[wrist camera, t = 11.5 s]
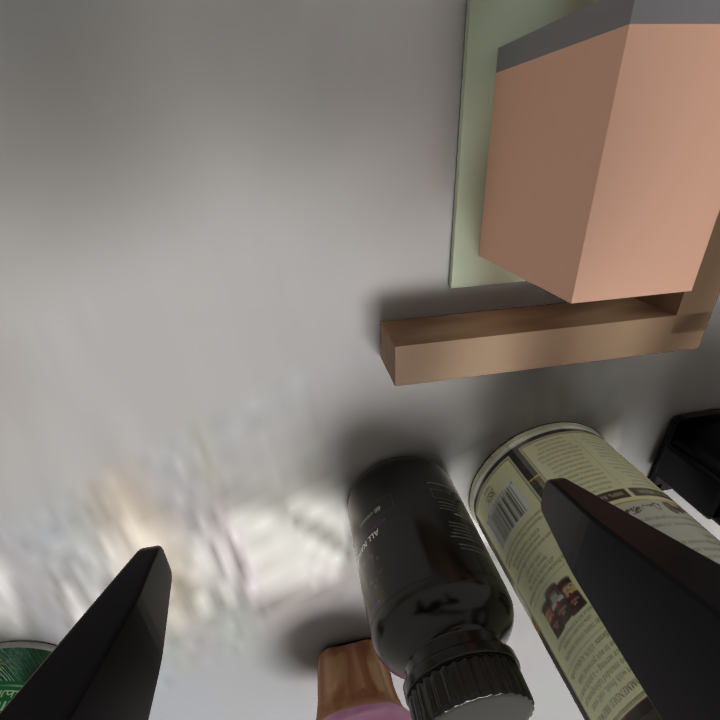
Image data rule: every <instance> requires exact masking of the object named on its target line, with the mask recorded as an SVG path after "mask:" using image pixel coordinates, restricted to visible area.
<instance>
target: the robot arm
mask: <svg viewBox="0 0 720 720" xmlns="http://www.w3.org/2000/svg"><path fill="white" fill-rule="evenodd" d="M650 481H652V482H653V483H654V484H655V485H656V486H657V487H658V488H660V489H661V490H662V491H663V490H668V489H673V490H674V491H675V492H676V493H678V494H679V495H680V496H681V497H682V498H683V499H685V500H686V501H687V502H688V503H689V504H690V505H692V506H693V507H694V508H695V509H696V510H697V511H699V512H700V513H701V514H702V515H703V516H704V517H706V518H707V519H712V520H714V521H715V522H716V523H717V524H718V525H719V526H720V409H717V410H710V411H703V412H697V413H690V414H684V415H679V416H677V417H675V418H674V419H673V421H672V423H671V425H670V428H669V430H668V433H667V436H666V438H665V441H664V444H663V446H662V449H661V451H660V454H659V457H658V459H657V462H656V464H655V467H654V470H653V472H652V475H651V477H650ZM541 510H542V513H543V515H544V517H545V520H546V522H547V524H548V526H549V528H550V530H551V532H552V534H553V536H554V538H555V540H556V542H557V544H558V546H559V548H560V550H561V552H562V554H563V556H564V558H565V560H566V562H567V564H568V566H569V568H570V570H571V572H572V574H573V575H574V577H575V579H576V581H577V582H578V584H579V586H580V587H581V589H582V590H583V592H584V594H585V595H586V597H587V599H588V600H589V602H590V604H591V605H592V607H593V608H594V610H595V612H596V613H597V615H598V617H599V618H600V620H601V621H602V623H603V625H604V626H605V628H606V630H607V631H608V633H609V634H610V636H611V638H612V639H613V641H614V643H615V644H616V646H617V648H618V649H619V651H620V652H621V654H622V656H623V657H624V659H625V661H626V662H627V664H628V665H629V667H630V669H631V670H632V672H633V674H634V675H635V677H636V679H637V680H638V682H639V683H640V685H641V687H642V688H643V690H644V692H645V693H646V695H647V696H648V698H649V700H650V701H651V703H652V705H653V706H654V708H655V709H656V711H657V713H658V714H659V716H660V718H661V719H662V720H720V564H718V563H717V562H715V561H713V560H711V559H709V558H708V557H706V556H704V555H702V554H700V553H699V552H697V551H695V550H693V549H692V548H690V547H688V546H686V545H684V544H683V543H681V542H679V541H677V540H675V539H674V538H672V537H670V536H668V535H666V534H665V533H663V532H661V531H659V530H657V529H656V528H654V527H652V526H650V525H648V524H647V523H645V522H643V521H641V520H640V519H638V518H636V517H634V516H632V515H631V514H629V513H627V512H625V511H623V510H622V509H620V508H618V507H616V506H614V505H613V504H611V503H609V502H607V501H605V500H604V499H602V498H600V497H598V496H596V495H595V494H593V493H591V492H589V491H588V490H586V489H584V488H582V487H580V486H579V485H577V484H575V483H573V482H571V481H570V480H568V479H566V478H555V479H549V480H547V482H546V483H545V487H544V491H543V496H542V500H541ZM171 581H172V573H171V569H170V566H169V563H168V561H167V558H166V556H165V553H164V550H163V549H162V547H161V546H153V547H147V548H142V549H140V550H139V551H138V552H137V553H136V554H135V555H134V556H133V557H132V558H131V560H130V561H129V562H128V563H127V564H126V566H125V567H124V568H123V569H122V570H121V571H120V573H119V574H118V575H117V576H116V577H115V578H114V580H113V581H112V582H111V583H110V584H109V586H108V587H107V588H106V589H105V590H104V591H103V593H102V594H101V595H100V596H99V597H98V598H97V600H96V601H95V602H94V603H93V604H92V605H91V607H90V608H89V609H88V610H87V611H86V613H85V614H84V615H83V616H82V617H81V618H80V620H79V621H78V622H77V623H76V624H75V625H74V627H73V628H72V629H71V630H70V631H69V633H68V634H67V635H66V636H65V637H64V638H63V640H62V641H61V642H60V643H59V644H58V645H57V647H56V648H55V649H54V650H53V651H52V652H51V654H50V655H49V656H48V657H47V658H46V660H45V661H44V662H43V663H42V664H41V665H40V667H39V668H38V669H37V670H36V671H35V672H34V674H33V675H32V676H31V677H30V678H29V680H28V681H27V682H26V683H25V684H24V685H23V687H22V688H21V689H20V690H19V691H18V692H17V694H16V695H15V696H14V697H13V698H12V700H11V701H10V702H9V703H8V704H7V705H6V707H5V708H4V709H3V710H2V711H1V712H0V720H148V719H149V714H150V710H151V706H152V701H153V697H154V692H155V688H156V684H157V679H158V675H159V670H160V665H161V660H162V654H163V647H164V639H165V631H166V623H167V615H168V606H169V598H170V590H171Z"/></svg>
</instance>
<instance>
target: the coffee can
mask: <svg viewBox="0 0 720 720" xmlns="http://www.w3.org/2000/svg"><path fill="white" fill-rule="evenodd" d="M555 478H566V479H568V480H570V481H571V482H573V483H575V484H577V485H579V486H580V487H582V488H584V489H586V490H588V491H589V492H591V493H593V494H595V495H596V496H598V497H600V498H602V499H604V500H605V501H607V502H609V503H611V504H613V505H614V506H616V507H618V508H620V509H622V510H623V511H625V512H627V513H629V514H631V515H632V516H634V517H636V518H638V519H640V520H641V521H643V522H645V523H647V524H648V525H650V526H652V527H654V528H656V529H657V530H659V531H661V532H663V533H665V534H666V535H668V536H670V537H672V538H674V539H675V540H677V541H679V542H681V543H683V544H684V545H686V546H688V547H690V548H692V549H693V550H695V551H697V552H699V553H700V554H702V555H704V556H706V557H708V558H709V559H711V560H713V561H715V562H717V563H718V564H720V541H719V540H718V539H717V538H716V537H715V536H713V535H712V534H711V533H710V532H709V531H708V530H707V529H705V528H704V527H703V526H702V525H701V524H700V523H698V522H697V521H696V520H695V519H694V518H693V517H692V516H690V515H689V514H688V513H687V512H686V511H685V510H684V509H682V508H681V507H680V506H679V505H678V504H677V503H676V502H674V501H673V500H672V499H671V498H670V497H669V496H668V495H666V494H665V493H664V492H663V491H662V490H661V489H660V488H658V487H657V486H656V485H655V484H654V483H653V482H652V481H650V480H649V479H648V478H647V477H646V476H645V475H643V474H642V473H641V472H640V471H639V470H638V469H636V468H635V467H634V466H633V465H632V464H631V463H630V462H628V461H627V460H626V459H625V458H624V457H623V456H622V455H620V454H619V453H618V452H617V451H616V450H615V449H613V448H612V447H611V446H610V445H609V444H608V443H606V442H605V441H604V439H603V438H602V437H601V436H600V435H599V434H598V433H597V432H596V431H595V430H593V429H591V428H589V427H587V426H584V425H581V424H577V423H568V422H560V423H552V424H547V425H542V426H538V427H536V428H534V429H531V430H528V431H525V432H524V433H522V434H519V435H517V436H515V437H514V438H512V439H511V440H509V441H508V442H506V443H505V444H504V445H502V446H501V447H500V448H498V449H497V450H496V451H495V452H494V453H493V454H492V455H491V456H490V457H489V458H488V459H487V461H486V462H485V463H484V465H483V466H482V467H481V469H480V470H479V472H478V474H477V475H476V477H475V479H474V482H473V484H472V488H471V491H470V501H469V505H470V509H471V513H472V516H473V518H474V519H475V521H476V523H477V524H478V525H479V526H480V528H481V530H482V532H483V534H484V536H485V538H486V539H487V541H488V543H489V545H490V547H491V549H492V551H493V552H494V554H495V556H496V557H497V559H498V561H499V563H500V565H501V567H502V569H503V571H504V572H505V574H506V576H507V578H508V580H509V581H510V583H511V585H512V587H513V589H514V591H515V592H516V594H517V596H518V598H519V600H520V602H521V603H522V605H523V607H524V609H525V611H526V613H527V614H528V616H529V618H530V620H531V622H532V624H533V625H534V627H535V629H536V631H537V632H538V634H539V636H540V638H541V640H542V642H543V644H544V646H545V648H546V650H547V651H548V653H549V655H550V657H551V659H552V660H553V662H554V664H555V666H556V668H557V670H558V671H559V673H560V675H561V677H562V679H563V681H564V682H565V684H566V686H567V688H568V690H569V691H570V693H571V695H572V697H573V699H574V701H575V703H576V704H577V706H578V708H579V710H580V712H581V714H582V715H583V717H584V719H585V720H662V719H661V718H660V716H659V714H658V713H657V711H656V709H655V708H654V706H653V705H652V703H651V701H650V700H649V698H648V696H647V695H646V693H645V692H644V690H643V688H642V687H641V685H640V683H639V682H638V680H637V679H636V677H635V675H634V674H633V672H632V670H631V669H630V667H629V665H628V664H627V662H626V661H625V659H624V657H623V656H622V654H621V652H620V651H619V649H618V648H617V646H616V644H615V643H614V641H613V639H612V638H611V636H610V634H609V633H608V631H607V630H606V628H605V626H604V625H603V623H602V621H601V620H600V618H599V617H598V615H597V613H596V612H595V610H594V608H593V607H592V605H591V604H590V602H589V600H588V599H587V597H586V595H585V594H584V592H583V590H582V589H581V587H580V586H579V584H578V582H577V581H576V579H575V577H574V575H573V574H572V572H571V570H570V568H569V566H568V564H567V562H566V560H565V558H564V556H563V554H562V552H561V550H560V548H559V546H558V544H557V542H556V540H555V538H554V536H553V534H552V532H551V530H550V528H549V526H548V524H547V522H546V520H545V517H544V515H543V513H542V510H541V500H542V496H543V491H544V487H545V483H546V482H547V480H549V479H555Z"/></svg>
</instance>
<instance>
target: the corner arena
mask: <svg viewBox="0 0 720 720" xmlns="http://www.w3.org/2000/svg"><path fill="white" fill-rule="evenodd" d="M596 1H598V0H467V14H466V29H465V44H464V60H463V75H462V91H461V106H460V122H459V137H458V153H457V168H456V184H455V199H454V215H453V230H452V246H451V261H450V277H449V287H450V288H461V287H471V286H482V285H493V284H503V283H514V282H525V281H526V280H525V279H523V278H521V277H519V276H517V275H515V274H513V273H511V272H509V271H507V270H505V269H503V268H501V267H499V266H497V265H495V264H493V263H492V262H490V261H488V260H486V259H484V258H482V257H480V256H479V247H480V237H481V226H482V216H483V205H484V194H485V184H486V173H487V162H488V152H489V141H490V130H491V120H492V109H493V99H494V88H495V77H496V67H497V56H498V48H499V47H501V46H504V45H506V44H508V43H510V42H512V41H514V40H516V39H518V38H520V37H522V36H525V35H527V34H529V33H531V32H533V31H535V30H537V29H539V28H541V27H543V26H545V25H548V24H550V23H552V22H554V21H556V20H558V19H560V18H562V17H564V16H566V15H569V14H571V13H573V12H575V11H577V10H579V9H581V8H583V7H585V6H587V5H590V4H592V3H594V2H596ZM719 292H720V210H719V213H718V216H717V219H716V222H715V224H714V227H713V230H712V233H711V236H710V239H709V242H708V245H707V248H706V250H705V253H704V256H703V259H702V262H701V265H700V268H699V271H698V273H697V276H696V279H695V282H694V285H693V288H692V291H686V292H676V293H667V294H657V295H648V296H638V297H629V298H619V299H610V300H600V301H591V302H581V303H572V304H571V303H559V304H549V305H539V306H530V307H520V308H510V309H501V310H491V311H481V312H471V313H462V314H452V315H442V316H432V317H423V318H413V319H403V320H393V321H384V322H380V332H381V359H382V361H383V363H384V365H385V367H386V369H387V371H388V373H389V375H390V377H391V379H392V381H393V383H394V385H395V386H401V385H409V384H417V383H425V382H433V381H441V380H449V379H457V378H465V377H473V376H481V375H489V374H497V373H504V372H512V371H520V370H528V369H536V368H544V367H552V366H560V365H568V364H576V363H584V362H592V361H600V360H608V359H616V358H624V357H632V356H639V355H647V354H655V353H663V352H671V351H679V350H687V349H695V348H698V347H699V345H700V342H701V339H702V337H703V334H704V332H705V329H706V326H707V324H708V321H709V319H710V316H711V313H712V311H713V308H714V305H715V303H716V300H717V298H718V295H719Z"/></svg>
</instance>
